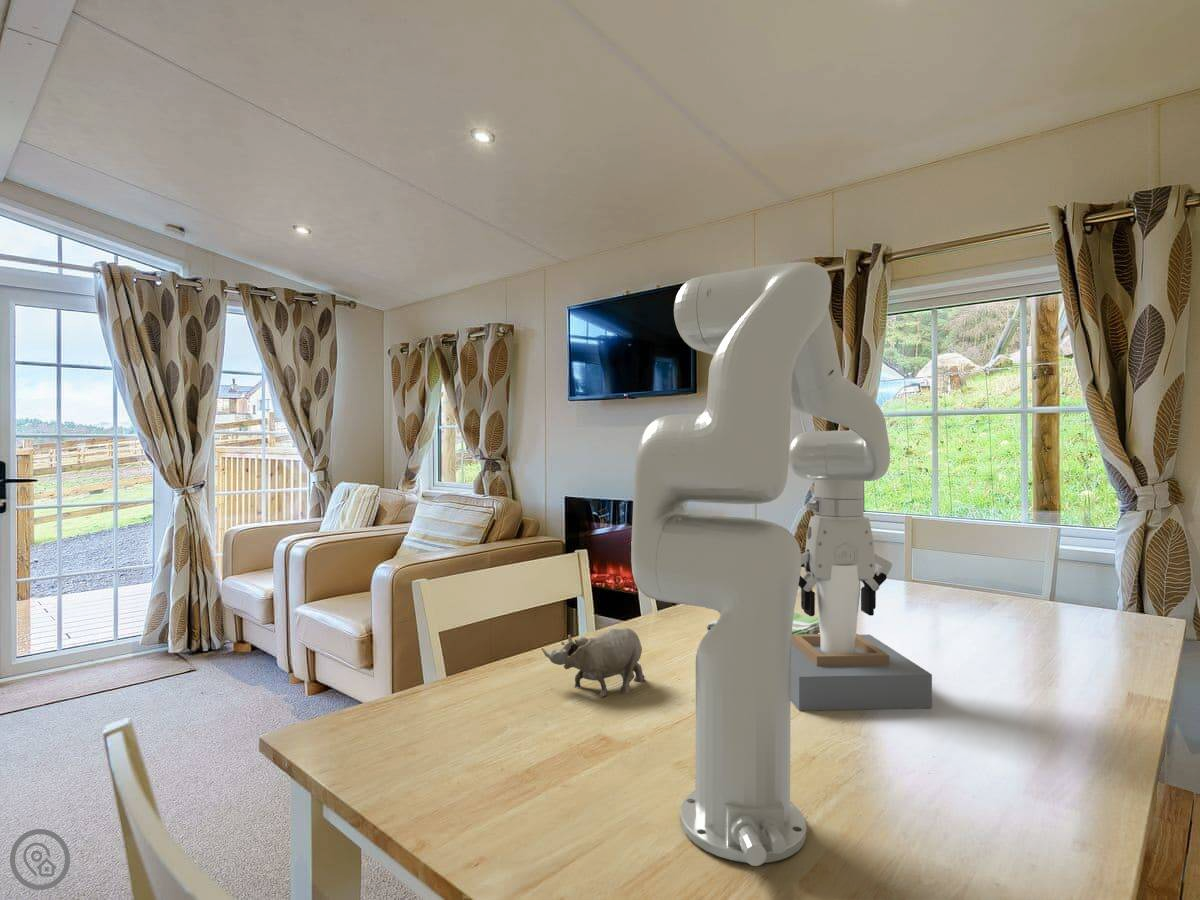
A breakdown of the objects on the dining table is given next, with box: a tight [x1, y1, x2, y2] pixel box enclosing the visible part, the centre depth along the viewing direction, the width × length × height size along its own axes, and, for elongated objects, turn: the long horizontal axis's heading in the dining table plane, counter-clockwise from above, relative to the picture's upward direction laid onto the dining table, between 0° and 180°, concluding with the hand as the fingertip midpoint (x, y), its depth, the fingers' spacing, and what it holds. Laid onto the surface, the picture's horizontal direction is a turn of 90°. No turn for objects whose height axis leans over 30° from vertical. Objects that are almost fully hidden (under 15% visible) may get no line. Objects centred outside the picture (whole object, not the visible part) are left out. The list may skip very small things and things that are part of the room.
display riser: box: [790, 633, 933, 712], centre depth 106 cm, size 20×20×6 cm
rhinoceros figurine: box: [541, 627, 645, 699], centre depth 104 cm, size 8×14×15 cm
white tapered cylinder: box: [815, 565, 861, 654], centre depth 106 cm, size 7×7×15 cm
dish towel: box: [706, 612, 820, 634], centre depth 136 cm, size 17×23×4 cm
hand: (838, 613), depth 106 cm, fingers open, 9 cm apart
